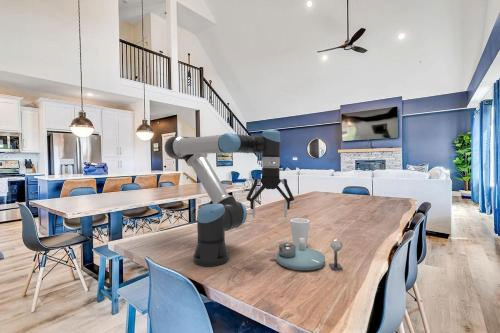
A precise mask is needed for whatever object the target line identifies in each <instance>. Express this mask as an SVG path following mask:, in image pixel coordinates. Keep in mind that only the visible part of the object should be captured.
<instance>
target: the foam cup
mask: <svg viewBox="0 0 500 333" xmlns="http://www.w3.org/2000/svg"><path fill="white" fill-rule="evenodd" d="M289 222H290V223H289V224H290V230H291V238H292V239H291V240H292V244H294V245H295V246H296V247H299V238H305V248H307V245H308V240H309V231H310V226H311V221H310V219H307V218H303V217H301V218H291V219H290V220H289Z"/></svg>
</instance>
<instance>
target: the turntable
mask: <svg viewBox="0 0 500 333" xmlns="http://www.w3.org/2000/svg"><path fill="white" fill-rule="evenodd" d="M276 262H277V263H278V264H279V265H281V266H283V267H285V268H287V269H291V270H297V271H313V270H318V269H321V268H322V267H324V266H325V263H326V256H325V254H324V253H322V252H321V251H319V250H315V249H312V248H309V247H306V248H305V238H299V247H296V256H295V257H294V258H289V259H288V258H282V257H280V256H279V250H278V251H277V252H276Z"/></svg>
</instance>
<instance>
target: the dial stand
mask: <svg viewBox="0 0 500 333" xmlns="http://www.w3.org/2000/svg"><path fill="white" fill-rule="evenodd" d="M330 247H331V249H332V250H333V260H334V261H333V263H328V267H329V268H330V269H331V271H343V267H342V265H341V264H340V263H338V252H339V251H341V250H342V249H343V242H342V241H341V240H340V239H337V238H335V239H332V241H331V242H330Z"/></svg>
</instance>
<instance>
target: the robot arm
mask: <svg viewBox="0 0 500 333" xmlns="http://www.w3.org/2000/svg"><path fill="white" fill-rule="evenodd" d="M164 152H165V154H166V155H167V156H168V157H170V158H171V159H174V160H184V161H185V163H186V165H187V166H189V167H190V168H191V167H192V169H193V171H194V173H195V174H196V177H197V178H198V180H199V182H200V183H201V185H202V187H203V188H204V190H205V192H206V193H207V195H208V197H209V198H210V200H211V202H212V203H211V204H209V203H207V204H205V205H202V206H200V207H199V208H198V209H197V213H196V214H197V217H196V221H197V222H196V224H197V226H196V227H197V244H196V247H195V251H194V253H193V263H194V264H196V265H197V266H200V267H218V266H221V265H223V264H226V263H227V262H228V261H229V259H230V254H229V252H230V251H229V250H228V247H227V243H226V232H228V231H230V230H233V229H237V228H239V227H241V226H243V225H244V224H245V223H246V220H247V216H248V210H247V208H246V205H244V204H243V203H242V202H241V201H237V200H236V198H235V197H234V195H230V194H229V192H228V191H227V190H226V188H225V186H224V185H223V183H222V181H221V180H220V179H219V177H218V175H217V173H216V172H215V170H214V169H213V167H212V165H211V163H210V162H209V160H208V159H207V157H208V154H209V155H210V154H228V153H229V154H233V153H236V154H237V153H240V154H242V153H243V154H261V157H262V158H261V166H262V168H261V177H260V178H254V179H253V184H252V186H251V188H250V190H249V192H248V194H247V196H246V201H248V202H250V204H249V205H250V210H252V218H254V219H255V218H256V201H255V200H256V199H257V198H258V197H259V195H261V193H262V192H263V191H264V190H276V191H278V192H279V194H280V195H281V196H282V197H283V199H285V201H284V203H283V205H284V208H283V217H284V218H288V210H290V208H291V205H290V204H291V202H293V201H295V197H294V195H293V193H292V192H291V189H290V187H289V185H288V179H287V178H282V179H281V178H280V173H281V172H280V168H279V167H281V166H280V164H281V162H280V160H281V133H280V131H279V130H275V129H274V130H273V129H272V130H271V129H269V130H263V131H262V134H261V135H249V134H248V135H247V134H246V135H245V134H239V133H233V132H226V133H223V134H217V135H208V136H207V135H206V136H180V135H178V136H177V135H175V136H171V137H169V138H168V139H166V141H165V143H164ZM259 183H261V184H262V185H261V186H260V187H259V188H258V190H257V191H256V192H255V193H254V191H255V189H256V188H257V186H258V184H259ZM280 183H281V184H282V185H283V187H284V188H285V192H287V195H288V196H289V197H288V196H287V195H286V193H285V192H284V190H282V189H281V187H280ZM253 193H254V194H253Z"/></svg>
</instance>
